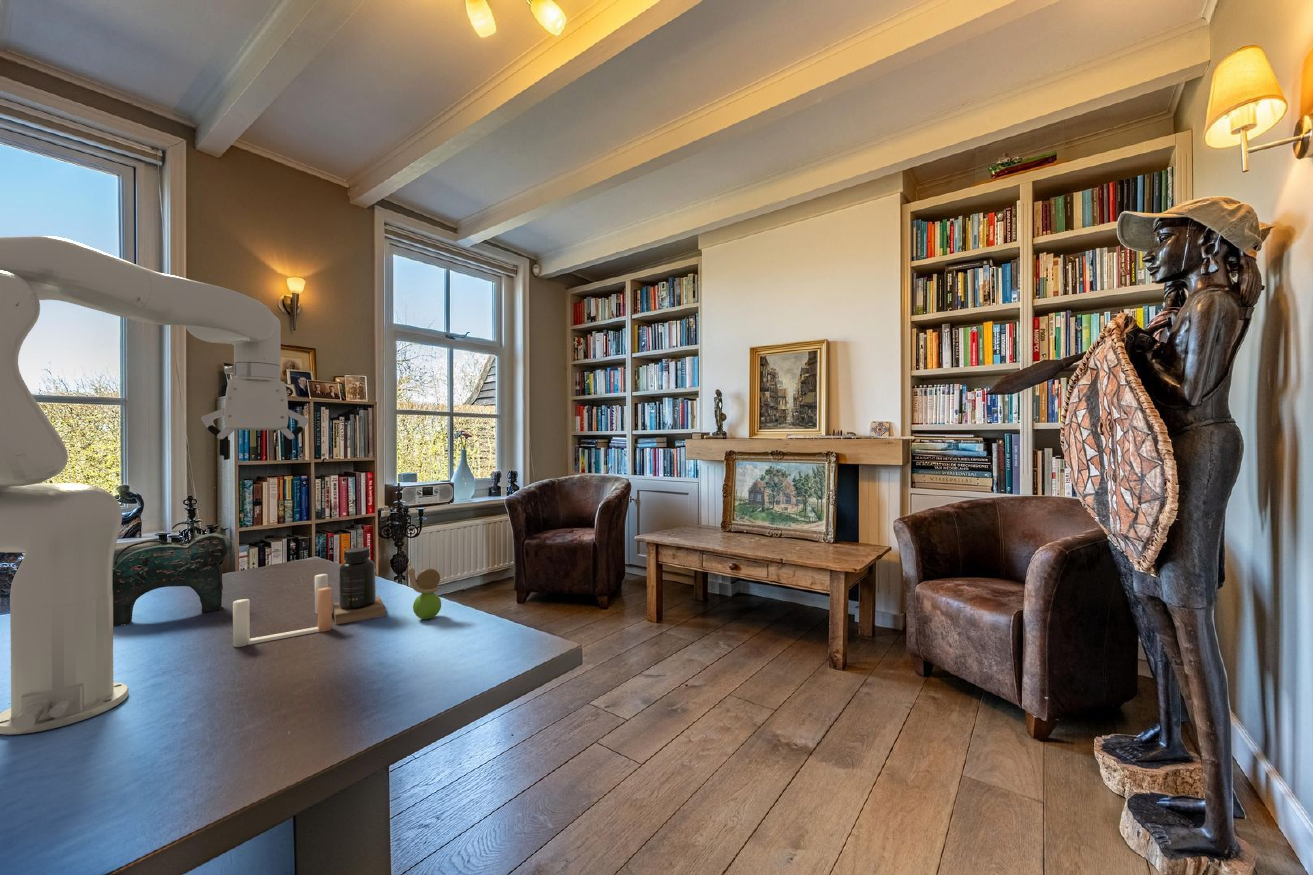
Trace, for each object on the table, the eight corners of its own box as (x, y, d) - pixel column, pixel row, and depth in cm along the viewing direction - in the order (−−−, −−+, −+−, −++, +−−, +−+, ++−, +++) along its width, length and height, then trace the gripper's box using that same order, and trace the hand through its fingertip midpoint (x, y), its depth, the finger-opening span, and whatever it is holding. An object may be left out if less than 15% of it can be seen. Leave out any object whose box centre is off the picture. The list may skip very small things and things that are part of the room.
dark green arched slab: (231, 603, 122) (231, 517, 122) (230, 611, 117) (229, 520, 117) (109, 622, 110) (108, 526, 110) (101, 631, 105) (100, 530, 105)
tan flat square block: (385, 615, 113) (385, 606, 113) (335, 624, 108) (335, 614, 108) (379, 605, 120) (379, 596, 120) (332, 612, 115) (332, 603, 115)
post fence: (332, 629, 105) (332, 589, 105) (232, 648, 96) (232, 603, 96) (327, 609, 117) (327, 573, 117) (239, 623, 109) (238, 584, 109)
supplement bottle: (344, 601, 116) (344, 547, 116) (379, 599, 118) (378, 545, 118) (334, 611, 110) (334, 553, 110) (371, 608, 111) (371, 551, 111)
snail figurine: (407, 617, 112) (407, 560, 112) (440, 612, 115) (440, 557, 115) (407, 625, 107) (407, 565, 107) (442, 620, 110) (441, 562, 110)
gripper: (198, 368, 99) (198, 460, 99) (309, 375, 109) (309, 458, 108) (204, 373, 105) (204, 459, 105) (308, 379, 115) (308, 458, 115)
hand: (257, 459), depth 107 cm, fingers open, 9 cm apart
